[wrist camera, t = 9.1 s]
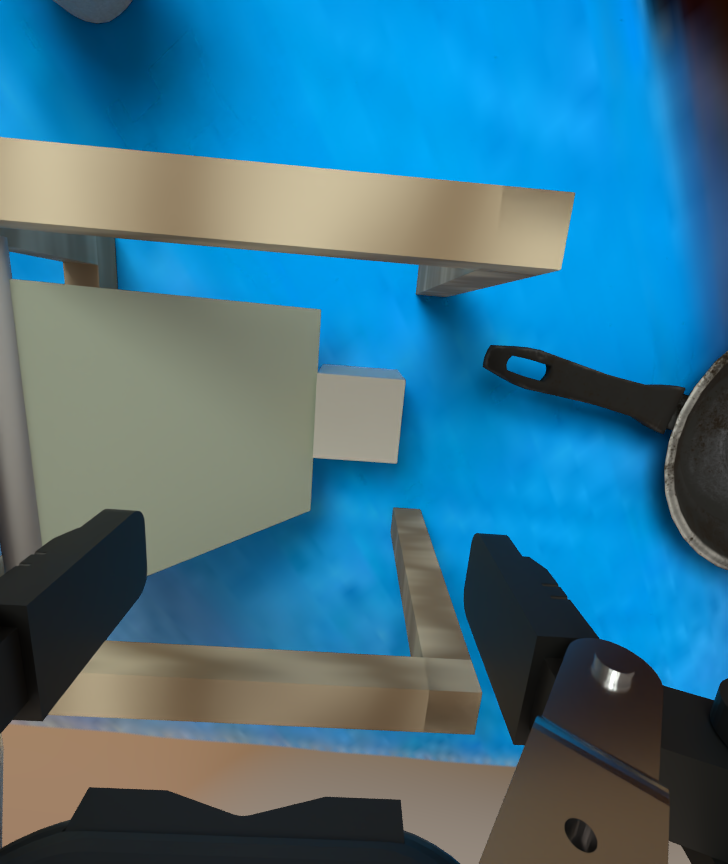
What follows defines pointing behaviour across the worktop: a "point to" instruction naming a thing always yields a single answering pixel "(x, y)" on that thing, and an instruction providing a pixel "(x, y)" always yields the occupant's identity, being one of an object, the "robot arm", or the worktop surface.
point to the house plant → (94, 9)
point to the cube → (358, 413)
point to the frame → (298, 234)
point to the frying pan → (658, 410)
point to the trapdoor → (151, 415)
